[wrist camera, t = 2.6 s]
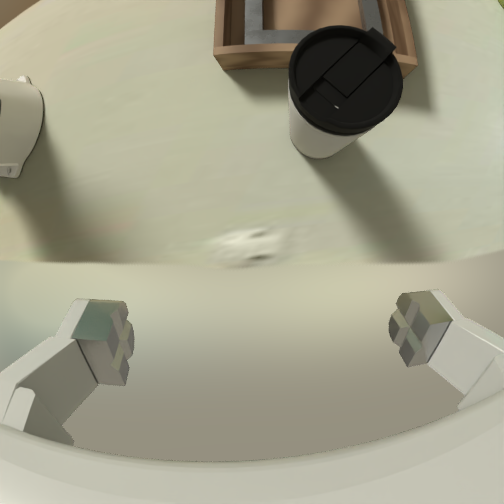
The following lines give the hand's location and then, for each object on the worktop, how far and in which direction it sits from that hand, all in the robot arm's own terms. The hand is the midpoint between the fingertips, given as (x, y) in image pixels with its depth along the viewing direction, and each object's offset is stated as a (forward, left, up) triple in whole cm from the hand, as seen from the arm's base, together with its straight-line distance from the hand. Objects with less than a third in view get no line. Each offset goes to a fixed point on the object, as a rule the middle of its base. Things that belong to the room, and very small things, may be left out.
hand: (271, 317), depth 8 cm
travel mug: (+4, +10, -27) cm, 29 cm away
